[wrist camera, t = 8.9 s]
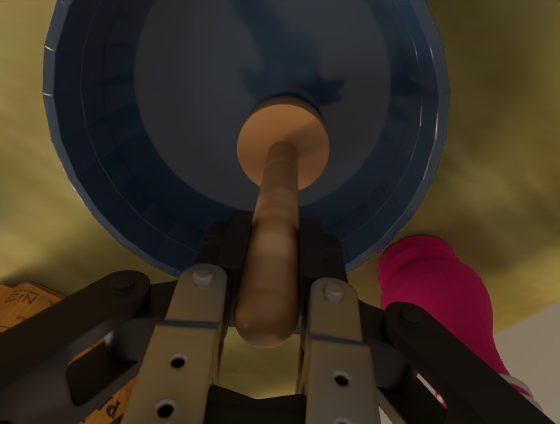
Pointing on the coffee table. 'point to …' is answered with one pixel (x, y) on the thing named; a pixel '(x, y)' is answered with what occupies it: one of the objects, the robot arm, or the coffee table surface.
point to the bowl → (242, 112)
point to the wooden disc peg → (276, 213)
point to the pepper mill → (444, 296)
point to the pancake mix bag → (34, 298)
